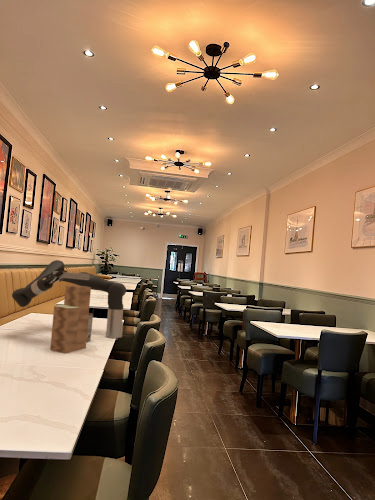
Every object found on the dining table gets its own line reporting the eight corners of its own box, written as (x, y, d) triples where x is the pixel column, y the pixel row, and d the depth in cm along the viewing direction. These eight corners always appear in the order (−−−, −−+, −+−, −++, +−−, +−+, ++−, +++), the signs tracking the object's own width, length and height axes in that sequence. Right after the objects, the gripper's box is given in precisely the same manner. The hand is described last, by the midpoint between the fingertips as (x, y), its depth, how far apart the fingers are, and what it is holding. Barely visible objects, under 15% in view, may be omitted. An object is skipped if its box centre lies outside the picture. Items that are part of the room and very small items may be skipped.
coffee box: (71, 340, 203) (73, 312, 204) (79, 338, 209) (81, 311, 210) (83, 343, 199) (85, 314, 200) (91, 341, 205) (93, 313, 206)
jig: (50, 350, 179) (55, 286, 180) (70, 345, 193) (75, 285, 194) (65, 353, 175) (71, 287, 176) (85, 347, 189) (90, 287, 190)
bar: (52, 276, 194) (53, 271, 194) (56, 276, 196) (57, 271, 197) (85, 280, 185) (85, 274, 185) (89, 280, 188) (89, 274, 188)
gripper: (29, 279, 193) (52, 265, 187) (49, 279, 205) (71, 266, 200) (34, 292, 191) (57, 278, 185) (53, 291, 204) (75, 278, 198)
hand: (64, 272), depth 193 cm, fingers closed on bar, 3 cm apart
